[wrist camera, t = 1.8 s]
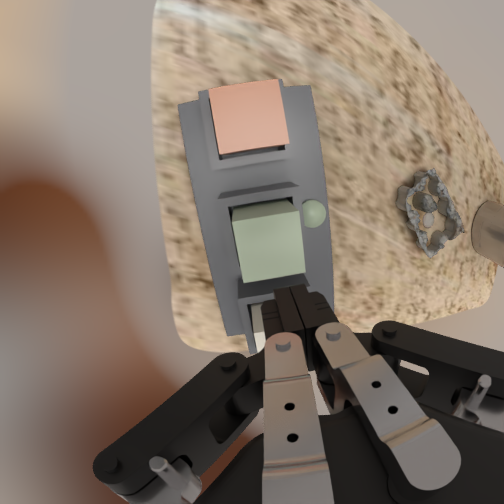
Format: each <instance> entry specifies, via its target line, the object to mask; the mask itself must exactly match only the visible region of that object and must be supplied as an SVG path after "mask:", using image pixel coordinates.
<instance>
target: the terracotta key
mask: <svg viewBox="0 0 504 504" xmlns="http://www.w3.org/2000/svg"><path fill="white" fill-rule="evenodd" d="M208 91H209V97H210V103H211V109H212V115H213V120H214V126H215V132H216V138H217V143H218V149H219V154H220V155H228V154H233V153H239V152H245V151H251V150H258V149H264V148H272V147H278V146H282V145H286V144H290V143H289V137H288V131H287V125H286V119H285V113H284V108H283V102H282V97H281V92H280V87H279V81H278V79H272V80H262V81H254V82H247V83H240V84H233V85H227V86H222V87H216V88H211V89H208Z"/></svg>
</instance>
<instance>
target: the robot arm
mask: <svg viewBox="0 0 504 504" xmlns="http://www.w3.org/2000/svg"><path fill="white" fill-rule="evenodd" d="M472 243H473V247H474V249H475V250H476V252H477V253H479V254H481V255H483V256H484V257H486V258H488V259H490V260H491V261H493V262H495V263H496V264H498V265H500V266H501V267H503V268H504V205H502V204H499V203H496V202H493V201H487V202H485V203H484V204H483V205H482V206H481V207H480V208H479V210H478V212H477V214H476V216H475V219H474V223H473V227H472ZM273 293H274V299H272V300H266V301H264V302H263V304H262V305H261V307H260V308H261V314H262V320H263V327H264V333H265V339H266V342H265V346H264V348H263V349H262V350H261V351H260V352H258V353H257V354H255V355H253V356H251V357H248V358H246V357H245V356H244V355H242V354H240V353H235V352H231V353H225V354H222V355H220V356H218V357H216V358H215V359H214V360H212V361H211V362H210V363H209V364H208V365H207V366H206V367H205V368H204V369H202V370H201V371H200V372H199V373H198V374H197V375H196V376H194V377H193V378H192V379H191V380H190V381H189V382H187V383H186V384H185V385H184V386H183V387H182V388H181V389H180V390H178V391H177V392H176V393H175V394H173V395H172V396H171V397H170V398H169V399H167V400H166V401H165V402H164V403H163V404H162V405H160V406H159V407H158V408H157V409H155V410H154V411H153V412H152V413H151V414H149V415H148V416H147V417H146V418H144V419H143V420H142V421H141V422H139V423H138V424H137V425H136V426H134V427H133V428H132V429H130V430H129V431H128V432H127V433H126V434H124V435H123V436H121V437H120V438H119V439H118V440H116V441H115V442H114V443H112V444H111V445H110V446H108V447H107V448H106V449H104V450H103V451H102V452H100V453H99V454H98V455H97V457H96V458H95V460H94V462H93V471H94V474H95V476H96V477H97V478H98V479H99V480H100V481H101V482H102V483H104V484H105V485H107V486H108V487H109V488H110V489H111V490H112V491H113V492H115V493H116V494H117V495H119V496H120V497H122V498H123V499H125V500H127V501H128V502H129V503H130V504H504V352H501V351H497V350H494V349H490V348H486V347H483V346H479V345H475V344H472V343H468V342H465V341H461V340H457V339H454V338H450V337H446V336H443V335H440V334H437V333H433V332H429V331H426V330H423V329H419V328H416V327H413V326H409V325H406V324H403V323H399V322H396V321H382V322H379V323H377V324H376V325H375V326H374V327H373V329H372V333H354V332H352V331H351V329H350V328H349V327H348V326H347V325H345V324H342V323H340V322H339V321H338V319H337V317H336V315H335V314H334V312H333V310H332V309H331V307H330V305H329V303H328V302H327V300H326V298H325V297H324V295H322V294H321V293H319V292H317V291H314V292H308V290H307V288H306V286H305V284H304V283H303V284H297V285H292V286H289V287H288V286H287V287H281V288H275V289H273ZM401 360H404V361H407V362H410V363H413V364H416V365H418V366H421V367H424V368H426V369H427V370H428V372H429V375H425V374H422V373H419V372H416V371H413V370H410V369H407V368H404V367H402V366H400V362H401ZM307 368H308V370H307ZM313 370H315V371H316V374H317V385H318V388H319V390H320V392H321V394H322V397H323V399H324V401H325V403H326V406H327V408H328V410H329V412H330V415H318V413H317V408H316V402H315V396H314V392H313V386H312V381H311V377H310V374H308V371H313ZM260 408H263V409H264V433H262V434H260V435H258V436H257V437H255V438H254V439H253V440H251V441H250V442H248V443H247V444H246V445H245V446H244V447H243V448H242V449H241V450H240V451H239V453H238V454H237V455H236V456H235V457H234V459H233V460H232V461H231V462H230V463H229V465H228V466H227V467H226V468H225V469H224V470H223V471H222V473H221V474H220V475H219V476H218V477H217V478H216V479H215V481H214V482H213V483H212V484H211V485H210V486H209V487H208V488H207V489H206V490H205V491H204V492H203V493H202V494H201V495H200V496H199V497H198V498H197V496H198V495H199V493H200V492H201V489H202V484H201V481H200V479H199V477H200V476H201V475H202V474H203V473H204V472H205V471H206V470H207V469H208V468H209V467H210V466H211V465H212V464H213V463H214V462H215V461H216V460H217V459H218V458H219V457H220V456H221V455H222V454H223V453H224V451H226V450H227V448H228V447H229V446H230V445H231V444H232V443H233V442H234V441H235V440H236V439H237V438H238V436H239V435H240V434H241V433H242V432H243V431H244V430H245V428H246V427H247V426H248V425H249V424H250V423H251V422H252V420H253V419H254V418H255V417H256V416H257V414H258V412H259V409H260ZM196 498H197V499H196ZM195 499H196V501H195ZM194 501H195V502H194Z"/></svg>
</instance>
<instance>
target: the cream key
mask: <svg viewBox="0 0 504 504" xmlns="http://www.w3.org/2000/svg"><path fill="white" fill-rule="evenodd" d="M262 304H263V302H259V303H253V304H251V308H252V320H253V331H254V337H255V342H256V347H257V352H260V351H261V350H262V349H263V348H264V346H265V342H266V339H265V333H264V327H263V320H262V314H261V308H260V307H261V305H262Z"/></svg>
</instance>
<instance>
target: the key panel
mask: <svg viewBox="0 0 504 504" xmlns="http://www.w3.org/2000/svg"><path fill="white" fill-rule="evenodd" d="M278 81H279V87H280V92H281V97H282V102H283V108H284V113H285V119H286V125H287V131H288V137H289V143H290V144H286V145H282V146H278V147H272V148H264V149H258V150H251V151H245V152H239V153H233V154H228V155H220V154H219V149H218V143H217V138H216V132H215V126H214V120H213V115H212V109H211V103H210V97H209V91H208V90H204V91H199V92H198V94H199V100H196V101H192V102H187V103H183V104H179V105H178V110H179V117H180V123H181V129H182V134H183V140H184V146H185V151H186V157H187V162H188V167H189V173H190V178H191V183H192V188H193V193H194V198H195V203H196V208H197V212H198V217H199V222H200V226H201V231H202V235H203V240H204V244H205V249H206V253H207V257H208V262H209V266H210V270H211V274H212V279H213V283H214V287H215V291H216V295H217V299H218V303H219V307H220V311H221V314H222V318H223V322H224V326H225V330H226V333H227V336H233V335H240V334H245V335H246V339H247V344H248V348H249V352H250V354H253V353H258V352H257V347H256V342H255V337H254V331H253V320H252V308H251V304H253V303H259V302H264V301H266V300H272V299H274V293H273V289H275V288H281V287H287V286H288V287H289V286H292V285H297V284H303V283H304V284H305V286H306V288H307V290H308V292H314V291H317V292H319V293H321V294H322V295H324V297H325V298H326V300H327V302H328V303H329V305H330V307H331V309H332V310H333V312H334V286H333V264H332V247H331V233H330V221H329V210H328V200H327V190H326V182H325V173H324V165H323V158H322V151H321V144H320V137H319V131H318V125H317V119H316V113H315V107H314V102H313V97H312V91H311V86H310V85H305V86H290V87H284V86H283V81H282V79H278ZM281 199H287V200H288V201H289V202H290V203H291V204H292V205H293V206H294V207H295V208H297V209H298V210H299V214H300V223H301V231H302V240H303V250H304V260H305V270H306V272H305V273H299V274H294V275H288V276H283V277H277V278H271V279H265V280H259V281H253V282H247V283H243V277H242V272H241V267H240V262H239V257H238V252H237V246H236V241H235V236H234V231H233V225H232V216H233V207H238V206H244V205H250V204H256V203H262V202H268V201H274V200H281Z"/></svg>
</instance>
